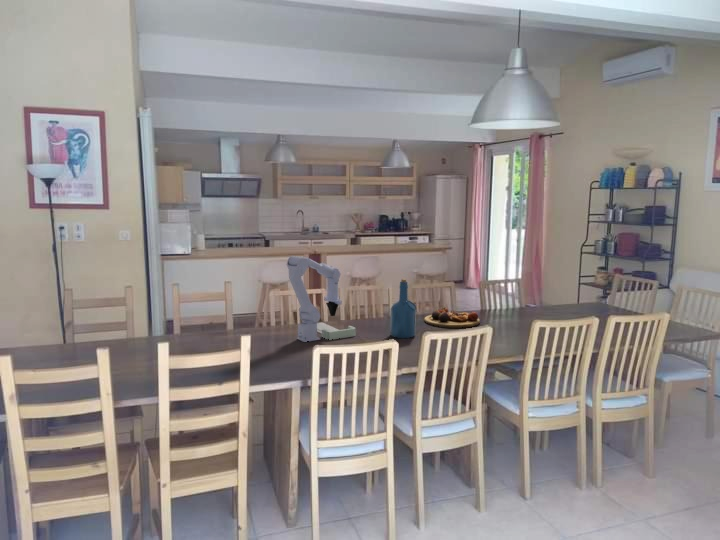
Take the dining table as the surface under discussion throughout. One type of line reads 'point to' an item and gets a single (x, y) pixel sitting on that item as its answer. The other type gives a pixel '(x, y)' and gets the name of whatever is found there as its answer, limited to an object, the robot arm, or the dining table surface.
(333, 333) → the end cap
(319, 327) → the baseboard molding
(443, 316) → the wooden plate with food
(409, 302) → the wine bottle
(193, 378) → the dining table surface
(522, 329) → the dining table surface
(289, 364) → the dining table surface
